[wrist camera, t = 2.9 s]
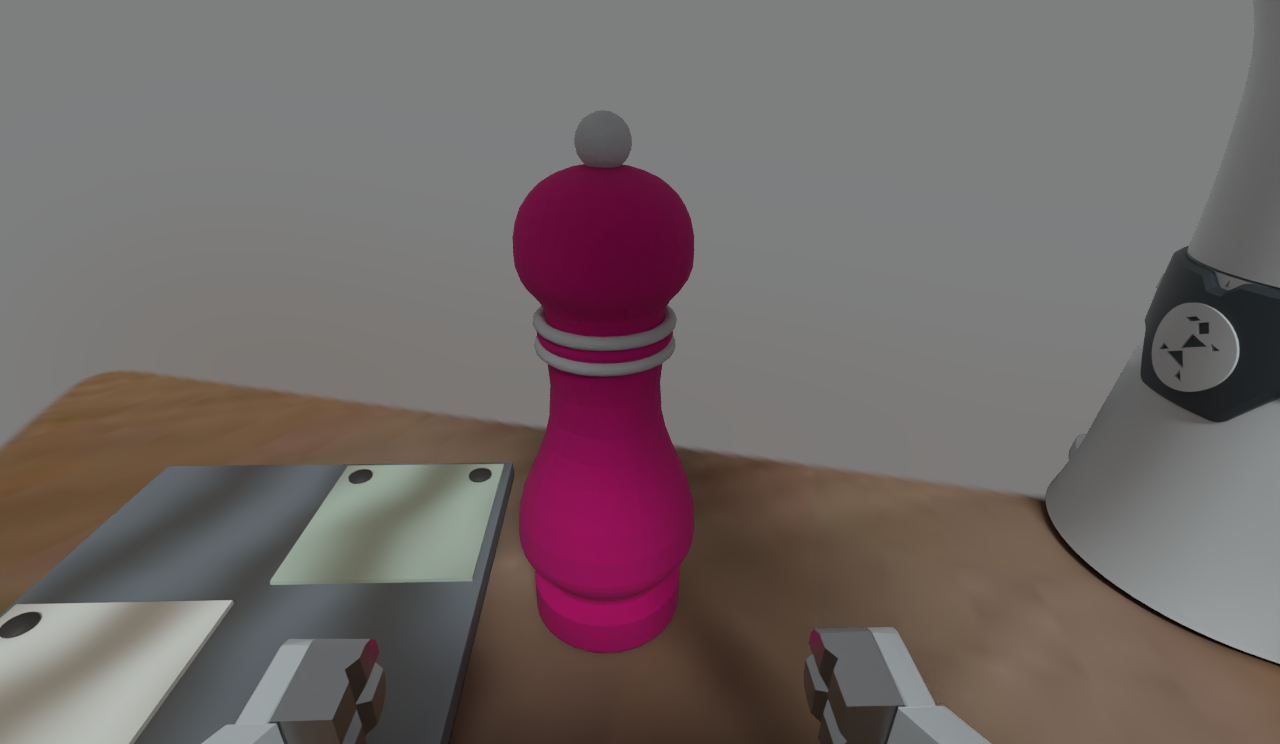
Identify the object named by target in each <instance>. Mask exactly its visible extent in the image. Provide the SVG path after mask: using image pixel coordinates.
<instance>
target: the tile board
mask: <svg viewBox="0 0 1280 744" xmlns="http://www.w3.org/2000/svg"><path fill="white" fill-rule="evenodd" d="M513 478H514V474H513V463H439V464H343V465H246V466H168V467H167V468H166V469H165V470H164V471H163V472H161V473H160V474H159V475H158V476H157V477H156V478H155V479H153V480H152V481H151V482H150V483H149V484H148V485H147V486H146V487H144V488H143V489H142V490H141V491H140V492H139V493H138V494H136V495H135V496H134V497H133V498H132V499H131V500H130V501H129V502H127V503H126V504H125V505H124V506H123V507H122V508H121V509H119V510H118V511H117V512H116V513H115V514H114V515H113V516H112V517H110V518H109V519H108V520H107V521H106V522H105V523H104V524H102V525H101V526H100V527H99V528H98V529H97V530H96V531H95V532H93V533H92V534H91V535H90V536H89V537H88V538H87V539H85V540H84V541H83V542H82V543H81V544H80V545H79V546H78V547H76V548H75V549H74V550H73V551H72V552H71V553H70V554H68V555H67V556H66V557H65V558H64V559H63V560H62V561H61V562H59V563H58V564H57V565H56V566H55V567H54V568H53V569H51V570H50V571H49V572H48V573H47V574H46V575H45V576H44V577H42V578H41V579H40V580H39V581H38V582H37V583H36V584H35V585H33V586H32V587H31V588H30V589H29V590H28V591H27V592H25V593H24V594H23V595H22V596H21V597H20V598H19V599H18V600H16V601H15V602H14V603H13V604H12V605H11V606H10V607H8V608H7V609H6V610H5V611H4V612H3V613H2V614H1V615H0V744H201V743H203V742H204V741H205V740H207V739H208V738H209V737H210V736H212V735H213V734H214V733H216V732H217V731H218V730H220V729H221V728H222V727H223V726H225V725H227V724H235V723H236V721H237V719H238V718H239V716H240V714H241V713H242V711H243V709H244V708H245V706H246V704H247V702H248V701H249V699H250V697H251V696H252V694H253V692H254V691H255V689H256V687H257V685H258V684H259V682H260V680H261V679H262V677H263V675H264V674H265V672H266V670H267V668H268V667H269V665H270V663H271V662H272V660H273V658H274V657H275V655H276V653H277V651H278V650H279V648H280V647H281V646H282V645H283V644H284V643H285V642H286V641H287V640H288V639H376V642H377V645H378V649H379V654H378V657H377V659H376V663H377V664H378V665H379V666H381V667H382V668H383V669H384V673H385V677H386V694H385V700H384V706H383V710H382V713H381V716H380V719H379V722H378V724H377V725H376V726H375V727H374V728H373V729H372V730H371V731H370V732H369V733H368V734H367V735H366V736H365V738H366V742H367V744H448V743H449V739H450V735H451V731H452V727H453V723H454V719H455V714H456V710H457V706H458V702H459V698H460V694H461V690H462V686H463V682H464V678H465V674H466V670H467V666H468V662H469V657H470V653H471V649H472V645H473V641H474V637H475V633H476V629H477V625H478V621H479V617H480V613H481V609H482V605H483V600H484V596H485V592H486V588H487V584H488V580H489V576H490V572H491V568H492V564H493V560H494V556H495V552H496V548H497V543H498V539H499V535H500V531H501V527H502V523H503V519H504V515H505V511H506V507H507V503H508V499H509V495H510V491H511V486H512V482H513Z"/></svg>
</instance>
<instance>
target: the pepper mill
mask: <svg viewBox="0 0 1280 744" xmlns="http://www.w3.org/2000/svg"><path fill="white" fill-rule="evenodd" d="M574 139H575V148H576V151H577V155H578V156H579V158H580V159H581V160H582V162H583V163H584V164H583V165H577V166H572V167H570V168H566V169H564V170H561V171H558V172H556V173H554V174H552V175H550V176H549V177H547V178H545V179H544V180H542V181H541V182H540V183H538V184H537V185H536V186H535V187H534V188H533V190H532V191H530V193H529V194H528V195H527V197H526V198H525V200H524V202H523V203H522V205H521V206H520V208H519V211H518V214H517V217H516V220H515V225H514V233H513V254H514V262H515V268H516V270H517V272H518V275H519V277H520V280H521V282H522V283H523V285H524V286H525V287H526V289H527V290H528V291H529V292H530V293H531V294H532V295H533V296H534V297H535V298H536V299H537V300H538V301H539V302H540V304H541V305H542V306H541V307H540V308H539V309H538V310H537V311H536V312H535V314H534V316H533V325H534V327H535V329H536V331H537V337H536V340H535V350H536V353H537V354H538V356H539V357H540V358H541V359H542V360H543V361H545V362H546V363H547V364H548V368H549V376H550V384H551V388H550V416H549V421H548V425H547V430H546V433H545V436H544V439H543V441H542V444H541V447H540V449H539V452H538V454H537V456H536V459H535V461H534V463H533V465H532V468H531V470H530V472H529V474H528V477H527V480H526V482H525V486H524V490H523V494H522V498H521V502H520V522H519V534H520V540H521V545H522V548H523V550H524V553H525V556H526V558H527V559H528V561H529V562H530V563H531V565H532V566H533V567H534V569H535V570H536V573H535V575H536V590H537V603H538V610H539V613H540V616H541V618H542V620H543V622H544V623H545V625H546V626H547V628H548V629H549V630H550V631H551V632H552V633H553V634H554V635H555V636H557V637H558V638H559V639H560V640H562V641H564V642H566V643H567V644H569V645H571V646H573V647H575V648H579V649H583V650H587V651H591V652H595V653H607V652H622V651H626V650H629V649H633V648H636V647H639V646H641V645H643V644H645V643H646V642H648V641H650V640H651V639H653V638H655V637H656V636H657V635H658V634H659V633H661V632H662V631H663V630H664V628H665V627H666V626H667V625H668V623H669V622H670V621H671V619H672V616H673V614H674V612H675V610H676V607H677V602H678V587H679V565H680V564H681V562H682V561H683V559H684V558H685V556H686V555H687V553H688V551H689V548H690V545H691V542H692V538H693V532H694V518H693V500H692V496H691V492H690V488H689V485H688V481H687V477H686V474H685V471H684V469H683V467H682V465H681V462H680V460H679V458H678V455H677V453H676V451H675V449H674V446H673V444H672V442H671V440H670V437H669V434H668V432H667V429H666V427H665V423H664V419H663V415H662V410H661V393H660V377H661V370H662V363H663V362H664V361H666V360H667V359H668V358H670V356H671V355H672V353H673V352H674V349H675V339H674V337H673V329H674V328H675V325H676V315H675V313H674V312H673V310H672V309H671V308H670V307H669V306H668V305H667V304H668V303H669V301H670V300H671V299H672V298H673V297H674V296H675V295H676V294H677V293H678V292H679V291H680V289H681V288H682V287H683V285H684V284H685V283H686V281H687V280H688V278H689V275H690V272H691V270H692V268H693V259H694V234H693V228H692V223H691V218H690V216H689V213H688V211H687V209H686V206H685V204H684V203H683V201H682V200H681V198H680V197H679V195H678V194H677V193H676V192H675V191H674V190H673V189H672V188H671V187H670V186H669V185H668V184H667V183H666V182H664V181H663V180H662V179H660V178H659V177H657V176H655V175H653V174H650V173H648V172H646V171H644V170H641V169H638V168H634V167H631V166H628V165H622V164H623V163H624V162H625V161H626V159H627V158H628V156H629V153H630V151H631V146H632V141H631V140H632V139H631V134H630V131H629V128H628V125H627V124H626V123H625V121H624V120H623V119H622V118H621V117H619V116H618V115H616V114H614V113H612V112H609V111H596V112H594V113H591V114H589V115H588V116H586V117H585V118H583V119H582V121H581V122H580V123H579V125H578V128H577V130H576V133H575V138H574Z"/></svg>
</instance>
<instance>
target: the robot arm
mask: <svg viewBox="0 0 1280 744" xmlns="http://www.w3.org/2000/svg"><path fill="white" fill-rule="evenodd" d="M1253 3H1254V41H1253V52H1252V58H1251V64H1250V69H1249V73H1248V78H1247V82H1246V86H1245V89H1244V93H1243V96H1242V100H1241V103H1240V106H1239V109H1238V113H1237V116H1236V120H1235V123H1234V126H1233V130H1232V133H1231V136H1230V139H1229V142H1228V145H1227V148H1226V151H1225V154H1224V157H1223V160H1222V163H1221V166H1220V168H1219V171H1218V174H1217V177H1216V179H1215V182H1214V185H1213V187H1212V190H1211V193H1210V195H1209V198H1208V201H1207V203H1206V205H1205V208H1204V211H1203V213H1202V215H1201V218H1200V220H1199V223H1198V225H1197V228H1196V230H1195V232H1194V235H1193V237H1192V240H1191V242H1190V244H1189V246H1187V247H1184V248H1182V249H1180V250H1178V251H1176V252H1175V253H1174V255H1173V256H1172V259H1171V261H1170V263H1169V265H1168V267H1167V269H1166V272H1165V273H1164V274H1163V275H1162V277H1161V279H1160V281H1159V283H1158V285H1157V287H1156V288H1157V291H1156V294H1155V296H1154V299H1153V301H1152V303H1151V306H1150V308H1149V311H1148V313H1147V315H1146V318H1145V324H1146V332H1145V338H1144V341H1143V342H1142V343H1141V344H1140V345H1138V346H1137V348H1136V349H1135V351H1134V352H1133V354H1132V355H1131V357H1130V359H1129V361H1128V362H1127V364H1126V366H1125V367H1124V369H1123V371H1122V373H1121V374H1120V376H1119V378H1118V380H1117V381H1116V383H1115V385H1114V387H1113V389H1112V390H1111V392H1110V394H1109V396H1108V397H1107V399H1106V401H1105V403H1104V404H1103V406H1102V408H1101V410H1100V411H1099V413H1098V415H1097V417H1096V419H1095V420H1094V422H1093V424H1092V426H1091V428H1090V429H1089V431H1088V433H1087V434H1082V435H1079V436H1078V437H1077V438H1076V439H1075V441H1074V443H1073V445H1072V446H1071V448H1070V450H1069V461H1068V463H1067V464H1066V465H1065V467H1064V468H1063V469H1062V471H1061V472H1060V473H1059V474H1058V475H1057V476H1056V478H1055V479H1054V480H1053V481H1052V482H1051V484H1050V485H1049V487H1048V489H1047V492H1046V499H1045V500H1046V507H1047V511H1048V514H1049V516H1050V518H1051V520H1052V522H1053V524H1054V526H1055V527H1056V529H1057V530H1058V532H1059V533H1060V535H1061V536H1062V537H1063V538H1064V540H1065V541H1066V542H1067V543H1068V544H1069V545H1070V546H1071V548H1072V549H1073V550H1074V551H1075V552H1076V553H1077V554H1078V555H1079V556H1080V557H1081V558H1082V559H1084V560H1085V561H1086V562H1087V563H1088V564H1089V565H1090V566H1092V567H1093V568H1094V569H1095V570H1096V571H1098V572H1099V573H1100V574H1101V575H1103V576H1104V577H1105V578H1107V579H1108V580H1109V581H1111V582H1112V583H1113V584H1115V585H1116V586H1118V587H1119V588H1121V589H1122V590H1123V591H1125V592H1127V593H1128V594H1130V595H1131V596H1133V597H1134V598H1136V599H1137V600H1139V601H1141V602H1142V603H1144V604H1146V605H1147V606H1149V607H1151V608H1152V609H1154V610H1156V611H1158V612H1160V613H1161V614H1163V615H1165V616H1167V617H1169V618H1171V619H1172V620H1174V621H1176V622H1178V623H1180V624H1182V625H1184V626H1186V627H1188V628H1190V629H1192V630H1195V631H1197V632H1199V633H1201V634H1203V635H1205V636H1208V637H1210V638H1212V639H1214V640H1217V641H1219V642H1222V643H1224V644H1226V645H1229V646H1231V647H1234V648H1237V649H1239V650H1242V651H1244V652H1247V653H1250V654H1253V655H1256V656H1259V657H1261V658H1264V659H1267V660H1270V661H1273V662H1276V663H1279V664H1280V0H1253ZM809 644H810V647H811V650H812V654H811V655H810V656H809V657H808V658H807V659H806V661H805V668H804V687H805V692H806V697H807V702H808V705H809V708H810V712H811V714H812V715H813V716H815V717H816V718H817V719H818V720H819V721H820V722H821V726H820V731H819V735H818V738H819V741H820V744H991V743H990V742H989V741H988V740H986V739H985V738H984V737H983V736H981V735H980V734H979V733H978V732H976V731H975V730H974V729H973V728H971V727H970V726H969V725H968V724H966V723H965V722H964V721H963V720H961V719H960V718H959V717H958V716H956V715H955V714H954V713H953V712H951V711H950V710H949V709H948V708H946V707H945V706H936V704H935V702H934V700H933V698H932V696H931V695H930V693H929V691H928V689H927V687H926V685H925V683H924V681H923V679H922V677H921V675H920V673H919V671H918V670H917V668H916V666H915V664H914V662H913V660H912V658H911V656H910V654H909V652H908V650H907V648H906V646H905V645H904V643H903V641H902V639H901V637H900V635H899V633H898V631H897V630H895V629H894V628H893V627H872V628H864V627H854V628H825V629H814V630H813V631H812V633H811V636H810V641H809ZM378 654H379V649H378V645H377V642H376V639H288V640H287V641H286V642H285V643H284V644H283V645H282V646H281V647H280V648H279V650H278V651H277V653H276V655H275V657H274V658H273V660H272V662H271V663H270V665H269V667H268V668H267V670H266V672H265V674H264V675H263V677H262V679H261V680H260V682H259V684H258V685H257V687H256V689H255V691H254V692H253V694H252V696H251V697H250V699H249V701H248V702H247V704H246V706H245V708H244V709H243V711H242V713H241V714H240V716H239V718H238V719H237V721H236V723H235V724H227V725H225V726H223V727H222V728H221V729H220V730H218V731H217V732H216V733H214V734H213V735H212V736H210V737H209V738H208V739H207V740H205V741H204V742H203V743H201V744H367V742H366V738H365V736H366V735H367V734H368V733H369V732H370V731H371V730H372V729H373V728H374V727H375V726H376V725H377V724H378V722H379V719H380V716H381V713H382V710H383V706H384V700H385V694H386V677H385V673H384V669H383V668H382V667H381V666H379V665H378V664H377V663H376V659H377V657H378Z"/></svg>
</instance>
